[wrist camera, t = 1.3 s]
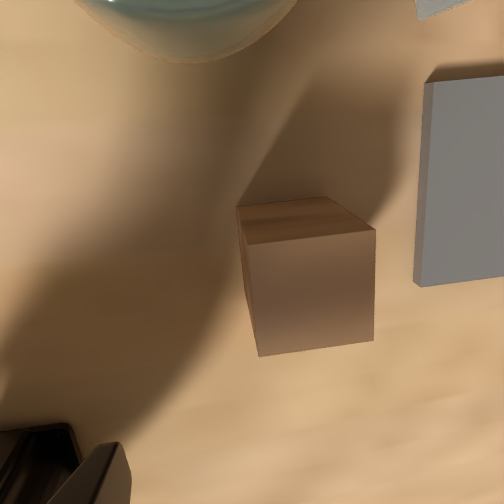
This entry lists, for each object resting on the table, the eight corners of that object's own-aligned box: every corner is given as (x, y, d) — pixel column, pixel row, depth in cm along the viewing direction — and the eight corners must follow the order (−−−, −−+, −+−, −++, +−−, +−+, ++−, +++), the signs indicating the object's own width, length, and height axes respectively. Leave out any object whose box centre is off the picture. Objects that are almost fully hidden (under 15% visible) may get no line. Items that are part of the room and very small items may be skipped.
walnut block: (327, 279, 20) (373, 340, 15) (244, 290, 20) (258, 357, 14) (325, 196, 19) (376, 229, 13) (235, 206, 19) (247, 245, 13)
